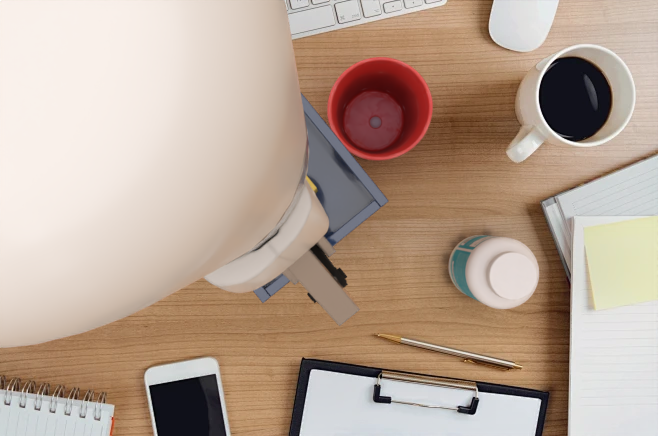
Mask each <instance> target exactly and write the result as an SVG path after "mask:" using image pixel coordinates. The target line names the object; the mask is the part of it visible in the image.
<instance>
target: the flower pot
mask: <svg viewBox="0 0 658 436" xmlns="http://www.w3.org/2000/svg"><path fill="white" fill-rule="evenodd" d="M433 100H434V99H433V95H432V92H431V90H430V87H429V85H428V82H426V80H425V79H424V77H423V76H422V75H421V73H420V72H418V70H416V68H414V67H413V66H411V65H410V64H408V63H406V62H405V61H403V60H401V59H397V58H393V57H387V56H373V57H369V58H368V57H367V58H364V59H362V60H360V61H357V62H355V63H353V64H352V65H350V66H349V67H348V68H347V69H345V70H344V71H343V72H342V73H341V74H340V75H339V76H338V78H337V79H336V81H334V83H333V85H332V86H331V89H330V92H329V94H328V99H327V104H326V115H327V121H328V126H329V127H330V129H331V130H332V131H333V132H334V133H335V135H336V136H337V137H338V138H339V140H340V141H341V142H342V143H343V145H344V146H345V147H346V148H347V150H348V151H349V152H350V153H351V154H352V156H355V157H357V158H360V159H363V160H368V161H373V162H374V161H377V162H379V161H381V162H382V161H389V160H392V159H396V158H399V157H401V156H403V155H405V154H407V153H408V152H410V151H412V150H413V149H414V148H415V147H416V146H417V145H418V144H420V142H421V141H422V140H423V139H424V137H425V136H426V134H427V132H428V130H429V127H430V125H431V122H432V117H433V112H434V101H433Z"/></svg>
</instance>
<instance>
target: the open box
mask: <svg viewBox="0 0 658 436" xmlns="http://www.w3.org/2000/svg"><path fill="white" fill-rule="evenodd" d="M300 92H301V98H302V104H303V109H304V115H305V121H306V127H307V132H308V142H309V160H308V171H307V176H308V178H309V179H310V180H311V181H312V183H313V184H314V185H315V186H316V187H317V190H318V192H317V193H315V194H316V196H317V198H318V200H319V202H320V203H321V205H322V207H323V209H324V210H325V212H326V214H327V216H328V219H329V227H328V230H327V232H328V233H327V234H325V235H324V236H325V238H326V239H327V240H328V241H329V243H330V244H331V245H332V246H333V247H335V246H336V245H337V244H338V243H339V242H341V241H342V240H343V239H344V238H345V237H347V236H348V235H350V233H352V232H353V231H354V230H356V229H357V228H358V227H359V226H360V225H362V224H363V223H365V221H366V220H368V219H369V218H370V217H372V216H373V215H374V214H376V213H377V212H378V211H379V210H380V209H381V208H383V207H384V206H385V205H386V204H387V203H389V201H390V200H389V199H388V198H387V196H386V195H385V194H384V192H382V190H381V189H380V188H379V187H378V185H377V184H376V183H375V181H374V180H373V179H372V178H371V177H370V176H369V174H368V173H367V171H366V170H365V169H364V168H363V167H362V165H361V164H360V163H359V162H358V161H357V159H356V158H355V157H354V155H353V154H351V153H350V152H349V151H348V150H347V148H346V147H345V146H344V145H343V143H342V142H341V141H340V140H339V138H338V137H337V136H336V135H335V133H334V132H333V131H332V130H331V128H330V125H329V124H327V122H326V121H325V120H324V119H323V117H322V116H321V115H320V113H318V111H317V110H316V109H315V108H314V106H313V104H311V103H310V101H309V100H308V99H307V98H306V96H305V95H304V94H303V93H302V91H301V90H300ZM256 250H257V249H255V251H256ZM289 283H291V281H290V280H289V279H288V278H287V277H285V276H284V275H283V274H282V273H281V274H280V275H278V276H277V277H276V278H274V279H273V280H272V281H270V282H268V283H267V284H265V285H263V286H262V287H260V288H258V289H256V290H253V291H252V292H253V293H254V295H256V297H257V298H258V299H259V301H260V302H261V303H262V304H264V303H265V302H267V301H268V300H270V298H271V297H273V296H274V295H275V294H277V293H278V292H279V291H281V290H282V289H283V288H284V287H285V286H286V285H288V284H289Z"/></svg>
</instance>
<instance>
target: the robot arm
mask: <svg viewBox="0 0 658 436" xmlns="http://www.w3.org/2000/svg"><path fill="white" fill-rule="evenodd" d="M286 5H287V4H286V0H0V349H5V348H6V349H7V348H17V347H25V346H34V345H39V344H44V343H47V342H51V341H56V340H60V339H64V338H67V337H72V336H75V335H79V334H84V333H86V332H89V331H92V330H95V329H98V328H101V327H103V326H106V325H109V324H112V323H115V322H116V321H119V320H122V319H125V318H128V317H129V316H132V315H134V314H136V313H138V312H140V311H142V310H144V309H146V308H148V307H151V306H153V305H154V304H156V303H158V302H159V301H162V300H164V299H165V298H167V297H169V296H171V295H173V294H175V293H177V292H178V291H180V290H182V289H184V288H186V287H188V286H190V285H192V284H194V283H196V282H198V281H199V280H201V279H204V280H205V281H206V282H207V283H209V284H211V285H213V286H215V287H216V288H219V289H220V290H223V291H226V292H229V293H233V294H245V293H250V292H253V290H256V289H258V288H260V287H262V286H263V285H265V284H267V283H268V282H270V281H272V280H273V279H274V278H276V277H277V276H278V275H280V274H281V273H282V274H283V275H284V276H285V277H287V278H288V279H289V280H290V283H291V284H293V285H294V286H296V285H297V284H298V283H300V284H301V286H302V287H303V288H304V289H305V290H306V291H307V293H306V294H307V296H308V298H309V299H310V301H312V302H313V303H314V304H316V303H317V304H318V305H320V307H321V308H322V309H323V310H324V311H325V312H326V313H327V315H328V316H329V317H330V318H331V319H332V320H333V321H334V322H335V323H336V325H338V326H339V327H340V326H342V325H343V324H344V323H346V322H347V321H348V320H349V319H350V318H351V317H353V316H354V315H356V313H358V312H359V311H360V310H361V308H360V307H359V305H358V304H357V303H356V301H355V299H353V297H352V296H351V294H350V292H348V290H347V289H346V287H347V286H348V285H349V284H348V281H347V278H348V276H347V274H346V273H345V272H344V271H343V270H342V268H341V267H338V268H337V267H336V266H335V265H334V263H333V262H332V261H331V260H330V259H329V258H330V257H331V256H333V255H334V254H335V253H337V250H336V249H335V247H334V246H332V245H331V244H330V243H329V241H328V240H327V239H326V238H325V236H324V235H325V234H327V233H328V232H327V230H328V227H329V219H328V216H327V214H326V212H325V210H324V209H323V207H322V205H321V203H320V202H319V200H318V198H317V196H316V194H315V192H314V191H313V189H312V188H311V186H310V185H309V183H308V181H307V180H306V175H307V171H308V160H309V142H308V132H307V127H306V121H305V115H304V109H303V104H302V98H301V93H302V91H301V87H300V82H299V75H298V68H297V62H296V55H295V50H294V43H293V37H292V31H291V26H290V25H291V24H290V19H289V12H288V8H287V6H286ZM300 91H301V92H300ZM255 249H257V250H256V251H255Z"/></svg>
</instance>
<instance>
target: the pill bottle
mask: <svg viewBox="0 0 658 436" xmlns="http://www.w3.org/2000/svg"><path fill="white" fill-rule="evenodd" d="M448 274H449V277H450V280H451V282H452V284H453V285H454V287H455V288H456V289H457V290H458V291H460V292H461V293H462V294H464V295H466V296H467V297H469V298H471V299H473V300H475V301H477V302H479V303H481V304H483V305H485V306H487V307H489V308H492V309H497V310H510V309H514V308H517V307H520V306H521V305H523V304H525V302H527V301H528V300H529V299H530V298H531V297H532V296H533V294H534V293H535V291H536V289H537V287H538V284H539V279H540V267H539V262H538V260H537V257H536V256H535V254H534V253H533V251H532V250H531V249H530V247H528V246H527V245H526V244H525V243H524V242H522V241H520V240H518V239H516V238H513V237H507V236H498V235H488V234H487V235H486V234H475V235H472V236H471V235H470V236H467V237H465V238H464V239H462V240H461V241H460V242H458V243H457V244H456V245H455V247H454V248H453V249H452V251H451V253H450V255H449V259H448Z"/></svg>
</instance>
